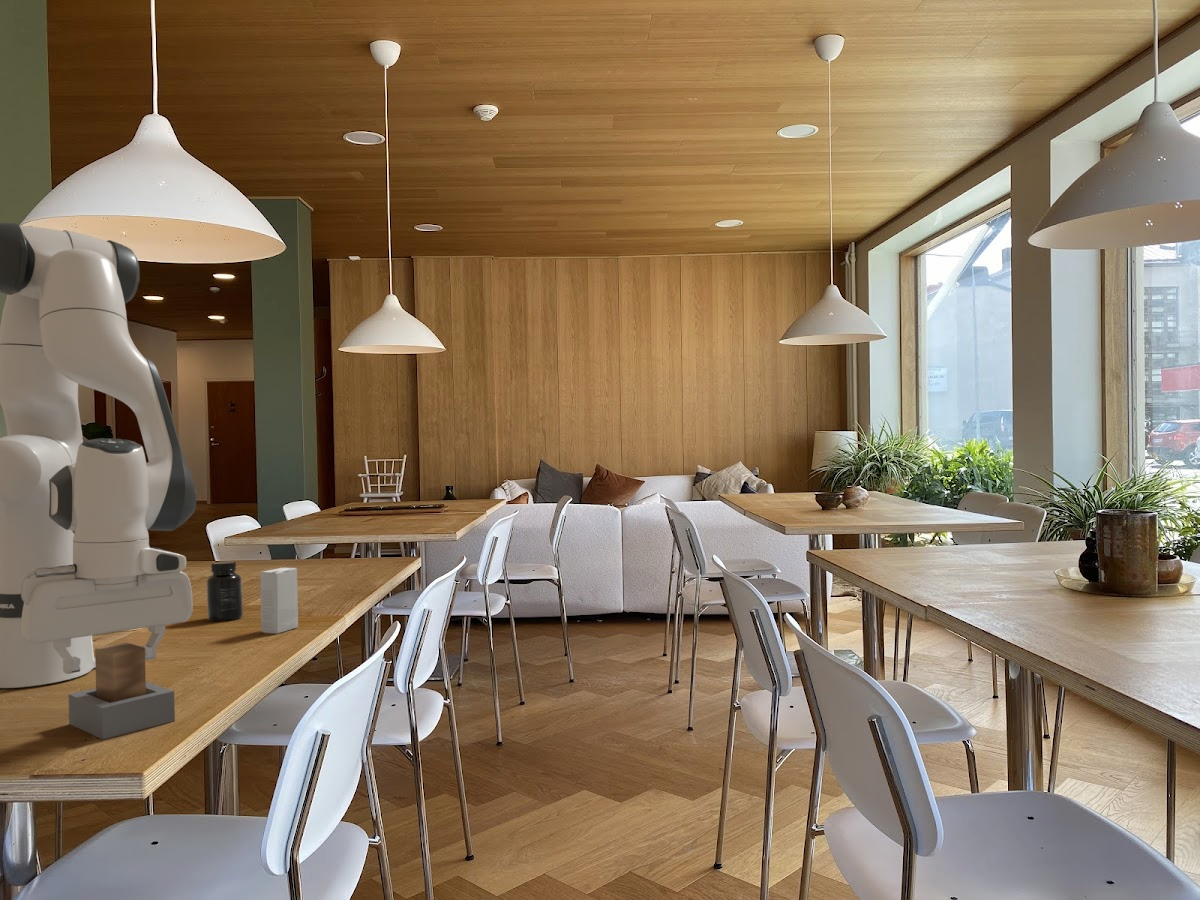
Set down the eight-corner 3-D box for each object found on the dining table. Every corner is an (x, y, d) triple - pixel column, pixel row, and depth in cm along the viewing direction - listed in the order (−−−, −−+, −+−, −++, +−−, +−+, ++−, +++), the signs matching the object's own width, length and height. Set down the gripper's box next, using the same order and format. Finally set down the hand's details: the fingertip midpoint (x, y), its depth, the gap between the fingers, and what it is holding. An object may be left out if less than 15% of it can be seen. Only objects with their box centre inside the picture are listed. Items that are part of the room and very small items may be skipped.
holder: (69, 724, 117) (68, 694, 117) (139, 707, 124) (138, 678, 124) (103, 739, 111) (102, 707, 111) (174, 720, 118) (174, 691, 118)
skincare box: (281, 626, 178) (280, 566, 178) (299, 628, 176) (298, 567, 176) (259, 633, 172) (258, 571, 172) (277, 634, 170) (276, 572, 170)
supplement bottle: (247, 615, 191) (246, 559, 191) (235, 621, 184) (234, 564, 184) (215, 615, 190) (214, 560, 190) (202, 622, 184) (200, 565, 183)
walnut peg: (114, 730, 114) (112, 653, 114) (96, 722, 118) (95, 648, 117) (146, 722, 117) (144, 647, 117) (128, 715, 121) (126, 642, 121)
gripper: (29, 571, 107) (29, 685, 107) (198, 556, 122) (197, 655, 122) (12, 566, 111) (12, 676, 111) (178, 552, 126) (177, 648, 126)
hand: (111, 665), depth 117 cm, fingers open, 8 cm apart
